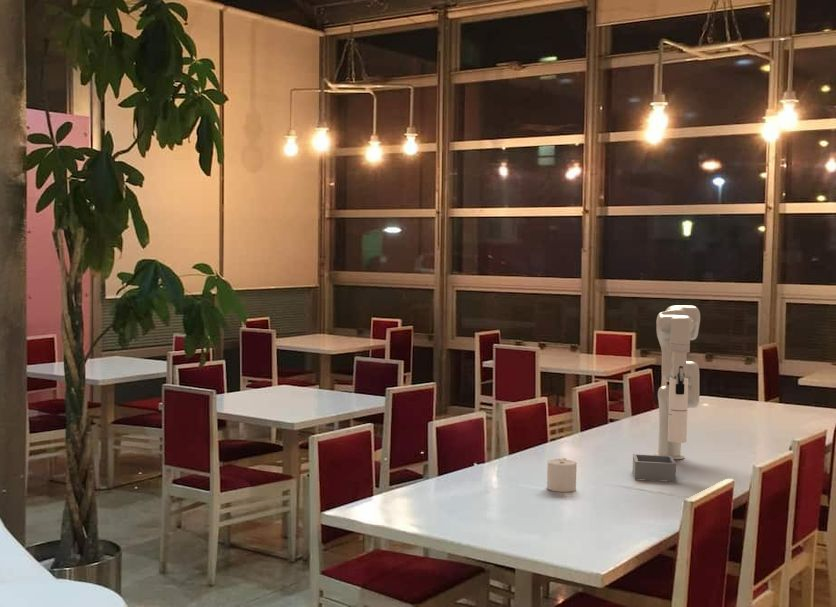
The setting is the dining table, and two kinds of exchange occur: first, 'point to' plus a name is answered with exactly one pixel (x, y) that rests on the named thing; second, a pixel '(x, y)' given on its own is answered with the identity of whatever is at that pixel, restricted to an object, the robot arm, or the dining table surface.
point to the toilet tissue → (561, 475)
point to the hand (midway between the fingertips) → (678, 392)
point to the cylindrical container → (677, 412)
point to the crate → (654, 467)
